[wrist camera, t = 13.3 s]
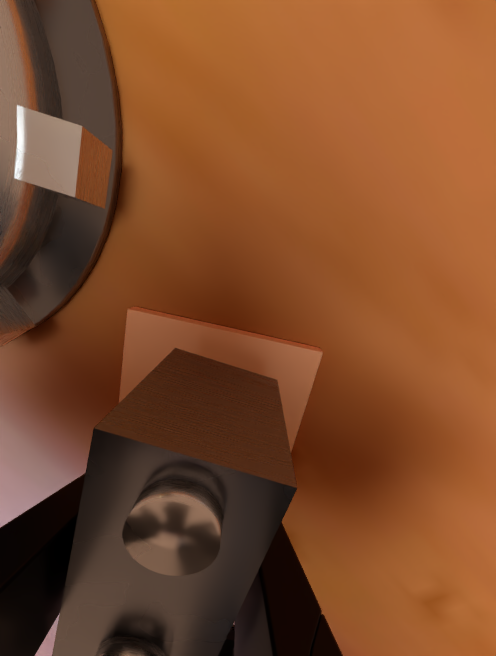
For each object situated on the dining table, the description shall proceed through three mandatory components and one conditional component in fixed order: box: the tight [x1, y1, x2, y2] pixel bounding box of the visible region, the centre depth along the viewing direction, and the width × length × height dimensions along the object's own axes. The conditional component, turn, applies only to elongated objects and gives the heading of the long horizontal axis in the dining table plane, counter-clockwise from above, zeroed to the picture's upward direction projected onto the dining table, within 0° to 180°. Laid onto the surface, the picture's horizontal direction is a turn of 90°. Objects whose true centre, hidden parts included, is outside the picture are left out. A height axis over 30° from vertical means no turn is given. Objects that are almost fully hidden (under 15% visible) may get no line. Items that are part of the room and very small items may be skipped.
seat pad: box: [119, 307, 323, 451], centre depth 11 cm, size 8×8×1 cm
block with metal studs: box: [52, 348, 297, 656], centre depth 7 cm, size 7×4×4 cm, turn 162°
